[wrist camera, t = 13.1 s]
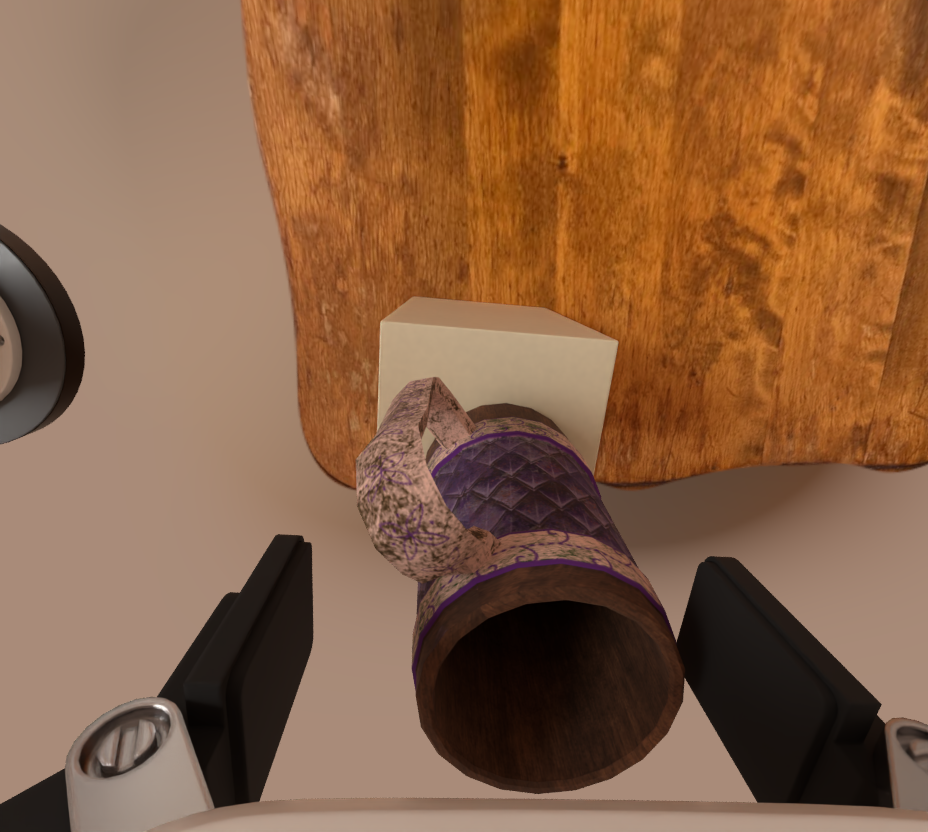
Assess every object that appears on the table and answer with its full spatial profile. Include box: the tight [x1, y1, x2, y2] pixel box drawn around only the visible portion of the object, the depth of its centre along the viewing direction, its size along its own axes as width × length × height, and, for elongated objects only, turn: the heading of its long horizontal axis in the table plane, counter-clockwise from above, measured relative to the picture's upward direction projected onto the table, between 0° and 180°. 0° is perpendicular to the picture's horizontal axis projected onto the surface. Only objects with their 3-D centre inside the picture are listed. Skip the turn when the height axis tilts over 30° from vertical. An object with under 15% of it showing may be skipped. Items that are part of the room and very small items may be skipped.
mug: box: [356, 377, 685, 794], centre depth 15 cm, size 10×7×12 cm
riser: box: [377, 296, 619, 476], centre depth 28 cm, size 10×10×16 cm
